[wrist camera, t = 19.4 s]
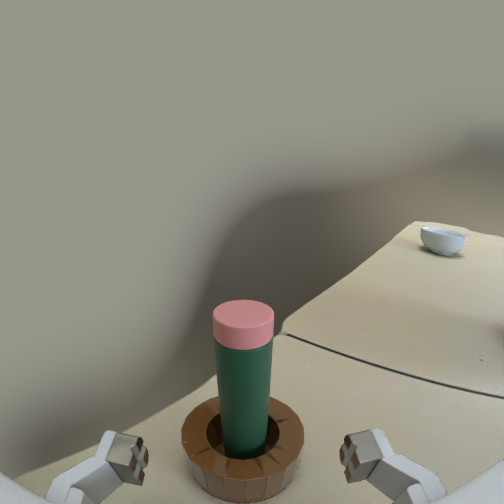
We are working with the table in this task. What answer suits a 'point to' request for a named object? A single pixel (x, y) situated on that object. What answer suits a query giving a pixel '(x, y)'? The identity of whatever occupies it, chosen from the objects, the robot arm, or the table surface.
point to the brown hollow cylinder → (235, 470)
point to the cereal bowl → (442, 240)
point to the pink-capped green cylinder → (243, 374)
